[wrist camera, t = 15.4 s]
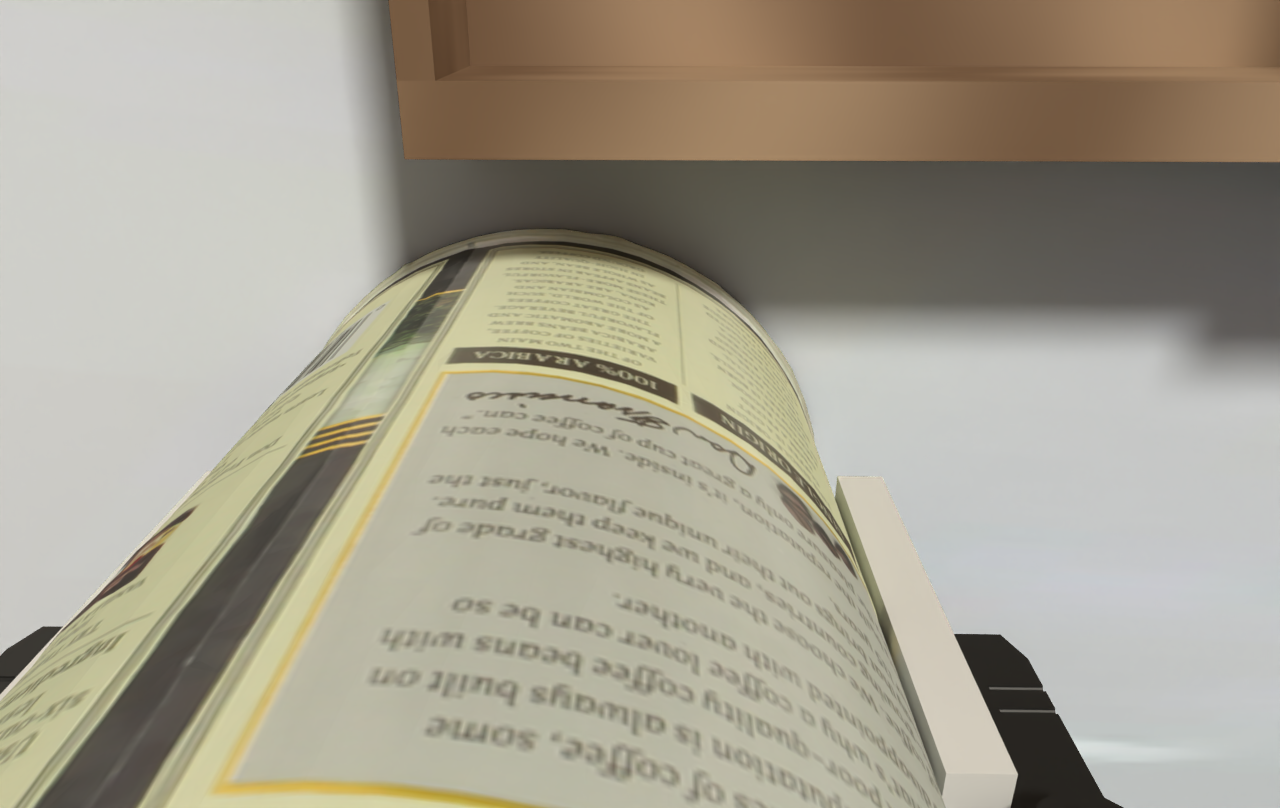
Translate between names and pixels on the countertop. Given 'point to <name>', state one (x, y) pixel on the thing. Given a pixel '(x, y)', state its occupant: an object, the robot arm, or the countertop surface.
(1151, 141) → the wooden tray
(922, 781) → the coffee can
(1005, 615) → the countertop surface
